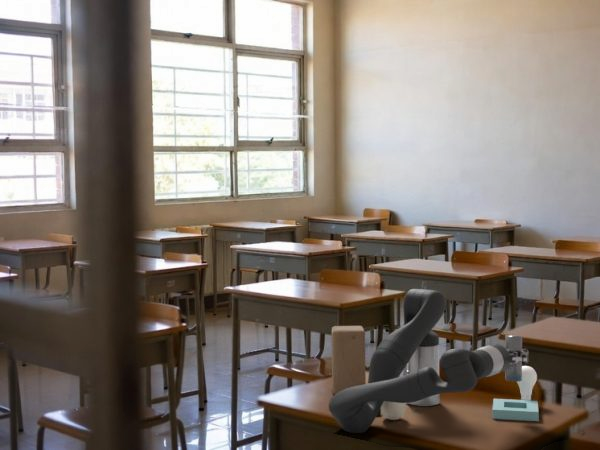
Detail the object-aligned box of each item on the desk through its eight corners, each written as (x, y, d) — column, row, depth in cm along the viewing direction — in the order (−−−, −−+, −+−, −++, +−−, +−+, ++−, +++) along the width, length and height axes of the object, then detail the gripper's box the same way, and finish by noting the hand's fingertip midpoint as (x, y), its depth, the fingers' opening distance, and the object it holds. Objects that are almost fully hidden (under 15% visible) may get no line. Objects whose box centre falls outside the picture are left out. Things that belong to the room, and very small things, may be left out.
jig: (492, 418, 215) (492, 409, 215) (493, 407, 227) (493, 398, 227) (538, 421, 212) (538, 412, 212) (537, 409, 224) (537, 400, 224)
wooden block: (365, 395, 242) (365, 330, 241) (333, 396, 242) (332, 330, 241) (363, 388, 252) (363, 325, 251) (332, 388, 252) (331, 325, 251)
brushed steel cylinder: (505, 381, 215) (505, 337, 215) (505, 377, 220) (505, 334, 219) (522, 381, 214) (522, 337, 214) (521, 378, 218) (522, 334, 218)
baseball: (407, 416, 219) (407, 392, 219) (404, 423, 212) (404, 398, 212) (382, 414, 221) (382, 391, 220) (379, 422, 213) (379, 397, 213)
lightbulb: (538, 406, 227) (537, 368, 226) (515, 406, 228) (515, 367, 228) (536, 401, 233) (535, 364, 232) (514, 400, 234) (514, 363, 234)
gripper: (464, 371, 210) (493, 361, 223) (515, 378, 201) (542, 368, 214) (464, 342, 210) (494, 335, 223) (515, 349, 201) (543, 340, 214)
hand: (517, 351), depth 219 cm, fingers closed on brushed steel cylinder, 4 cm apart
